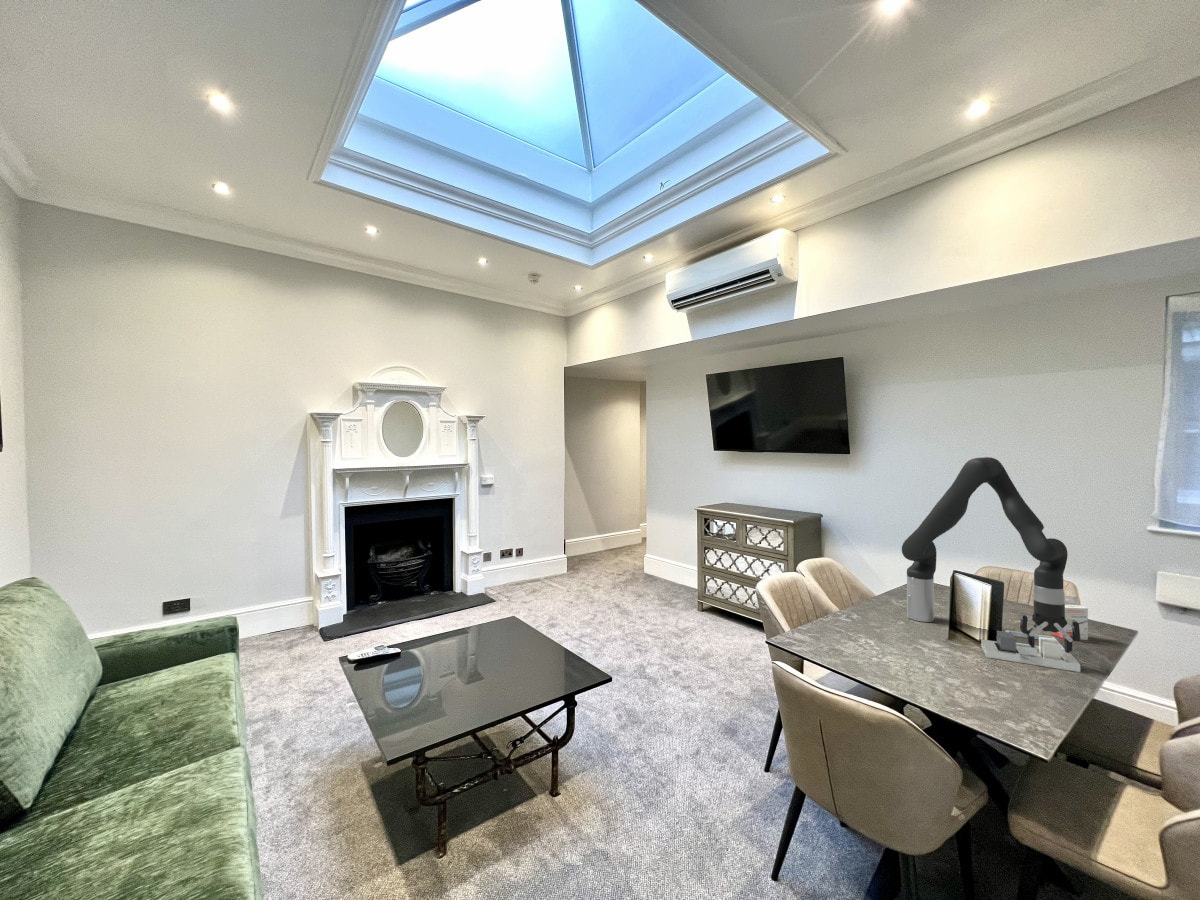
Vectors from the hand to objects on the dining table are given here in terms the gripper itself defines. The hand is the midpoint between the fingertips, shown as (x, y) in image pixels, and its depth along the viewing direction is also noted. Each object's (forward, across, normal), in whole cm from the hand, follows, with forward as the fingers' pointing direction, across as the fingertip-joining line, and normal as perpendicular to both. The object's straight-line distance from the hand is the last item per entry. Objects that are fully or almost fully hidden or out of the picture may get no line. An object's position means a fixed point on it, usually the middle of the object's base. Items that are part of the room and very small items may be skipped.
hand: (1049, 649), depth 157 cm
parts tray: (+4, 0, +16) cm, 17 cm away
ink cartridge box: (+4, +12, +30) cm, 33 cm away
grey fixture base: (+4, -6, 0) cm, 7 cm away
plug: (+4, 0, 0) cm, 4 cm away
